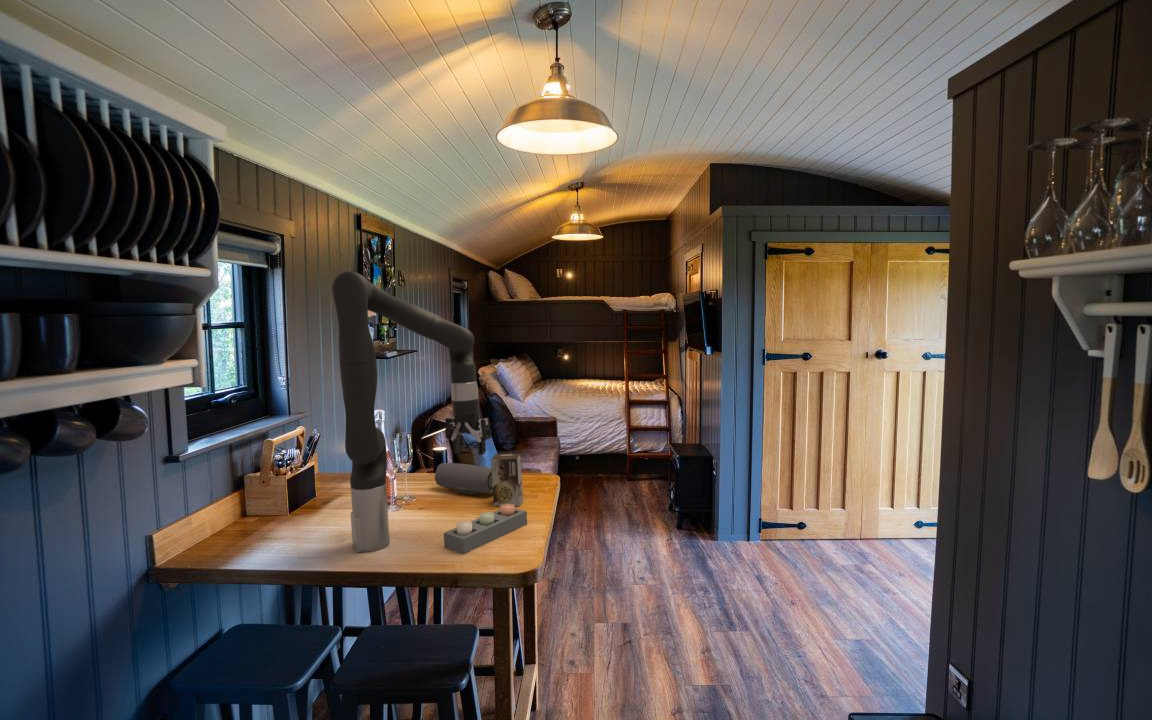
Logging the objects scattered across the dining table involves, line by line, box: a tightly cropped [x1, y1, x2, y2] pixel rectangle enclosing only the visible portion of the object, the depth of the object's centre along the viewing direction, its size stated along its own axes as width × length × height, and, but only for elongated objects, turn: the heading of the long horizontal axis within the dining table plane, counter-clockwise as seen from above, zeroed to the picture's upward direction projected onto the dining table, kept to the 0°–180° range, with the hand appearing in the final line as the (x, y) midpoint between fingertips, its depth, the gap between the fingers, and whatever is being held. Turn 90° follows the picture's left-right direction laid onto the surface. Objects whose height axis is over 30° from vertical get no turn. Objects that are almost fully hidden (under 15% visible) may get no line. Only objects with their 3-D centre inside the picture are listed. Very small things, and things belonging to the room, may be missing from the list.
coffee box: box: [490, 453, 524, 507], centre depth 189 cm, size 9×6×16 cm
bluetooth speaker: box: [434, 462, 493, 495], centre depth 202 cm, size 23×9×10 cm, turn 64°
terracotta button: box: [499, 504, 516, 517], centre depth 169 cm, size 4×4×3 cm
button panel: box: [443, 507, 528, 554], centre depth 162 cm, size 25×8×4 cm, turn 143°
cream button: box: [456, 520, 472, 536], centre depth 155 cm, size 4×4×3 cm
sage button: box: [478, 511, 495, 526], centre depth 162 cm, size 4×4×3 cm
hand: (469, 453), depth 162 cm, fingers open, 8 cm apart
